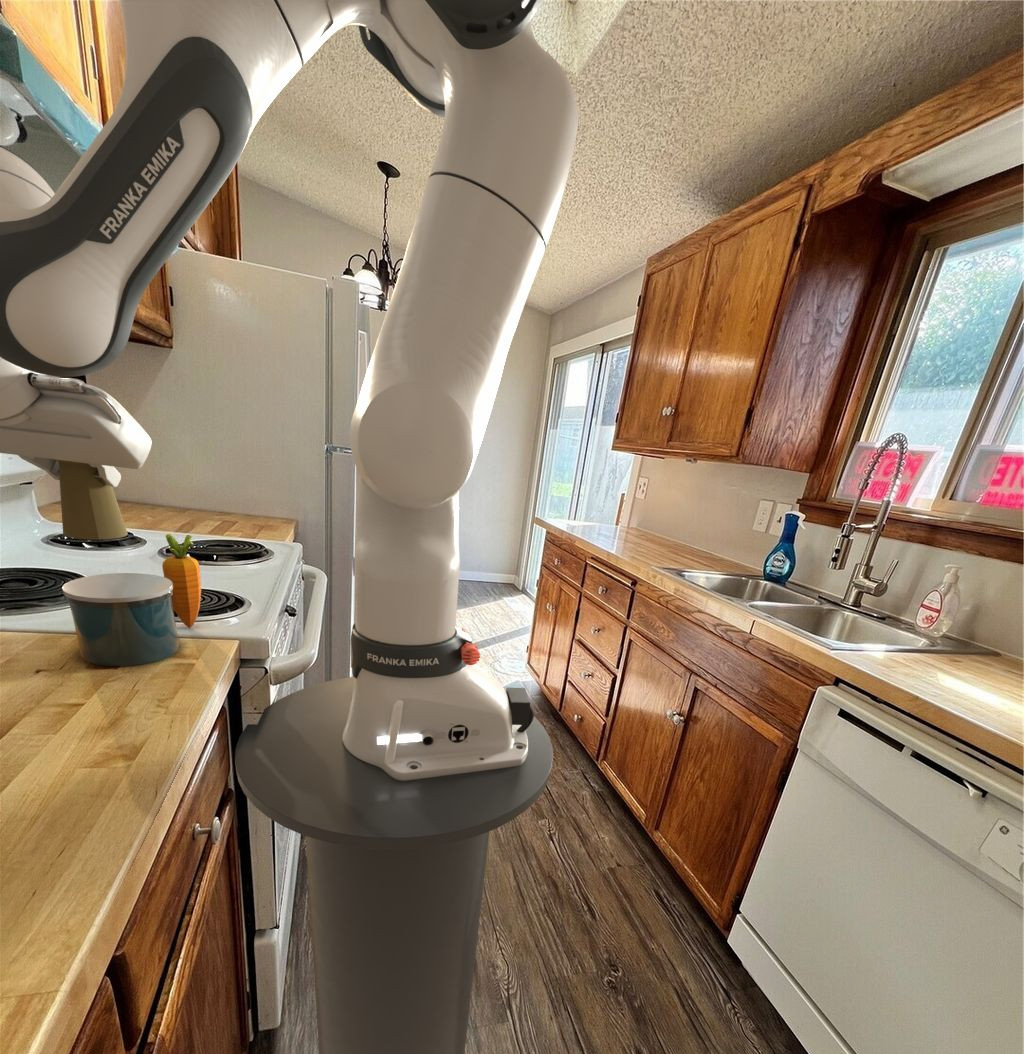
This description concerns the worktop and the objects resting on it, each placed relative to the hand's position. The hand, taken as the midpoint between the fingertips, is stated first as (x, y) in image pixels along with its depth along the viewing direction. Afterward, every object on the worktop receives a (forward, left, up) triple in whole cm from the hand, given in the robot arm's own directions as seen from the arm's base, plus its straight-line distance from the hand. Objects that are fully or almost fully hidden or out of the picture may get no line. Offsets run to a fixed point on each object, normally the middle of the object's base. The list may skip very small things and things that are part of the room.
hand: (89, 478), depth 62 cm
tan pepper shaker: (0, +1, -6) cm, 6 cm away
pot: (+3, -9, -24) cm, 26 cm away
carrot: (-1, -19, -25) cm, 31 cm away
